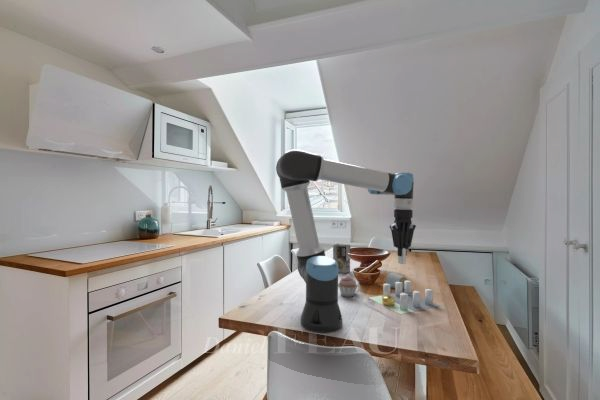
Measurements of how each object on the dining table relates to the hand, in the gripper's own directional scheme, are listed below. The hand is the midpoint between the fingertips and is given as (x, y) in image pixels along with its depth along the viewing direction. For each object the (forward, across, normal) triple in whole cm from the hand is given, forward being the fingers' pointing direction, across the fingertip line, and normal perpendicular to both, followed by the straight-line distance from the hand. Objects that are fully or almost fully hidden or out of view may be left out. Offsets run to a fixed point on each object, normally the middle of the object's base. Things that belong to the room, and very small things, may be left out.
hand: (401, 263), depth 128 cm
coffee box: (+18, +6, +57) cm, 60 cm away
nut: (+17, -7, 0) cm, 18 cm away
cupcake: (+18, -15, +19) cm, 30 cm away
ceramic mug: (+18, +14, +17) cm, 29 cm away
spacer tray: (+18, +1, 0) cm, 18 cm away
